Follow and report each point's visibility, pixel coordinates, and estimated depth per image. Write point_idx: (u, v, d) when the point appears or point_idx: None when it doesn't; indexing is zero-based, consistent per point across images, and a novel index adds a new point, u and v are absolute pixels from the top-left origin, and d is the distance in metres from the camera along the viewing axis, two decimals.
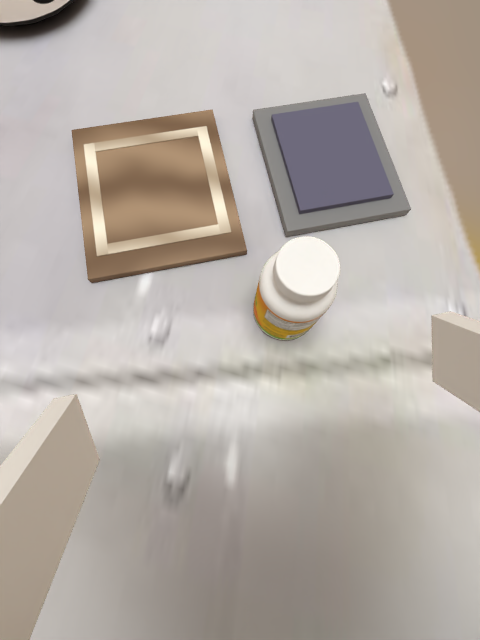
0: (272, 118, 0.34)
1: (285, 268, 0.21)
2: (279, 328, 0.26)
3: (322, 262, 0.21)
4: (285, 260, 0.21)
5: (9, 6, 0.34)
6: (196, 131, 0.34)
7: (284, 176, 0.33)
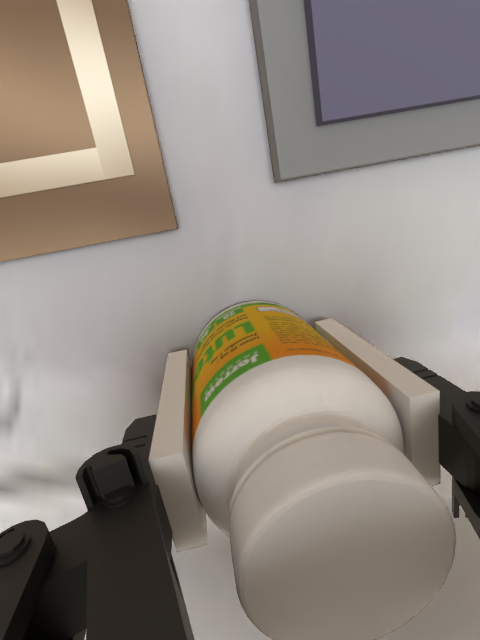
0: None
1: (271, 590, 0.06)
2: None
3: (401, 559, 0.06)
4: (274, 565, 0.06)
5: None
6: None
7: None
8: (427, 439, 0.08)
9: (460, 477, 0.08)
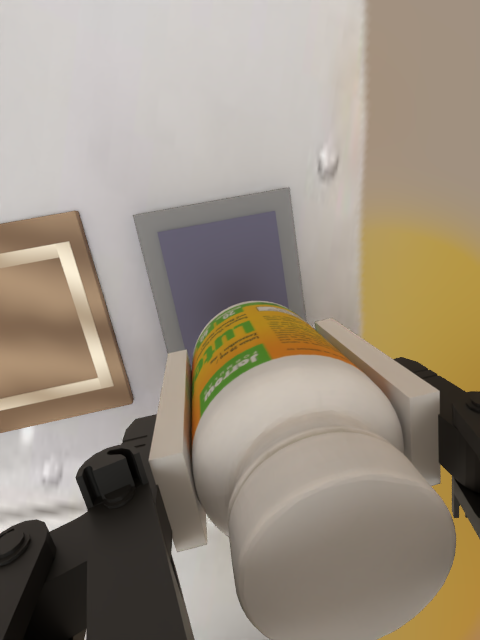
0: (158, 236, 0.26)
1: (270, 590, 0.06)
2: None
3: (401, 559, 0.06)
4: (273, 565, 0.06)
5: None
6: (56, 250, 0.25)
7: (174, 317, 0.28)
8: (427, 439, 0.08)
9: (460, 477, 0.08)
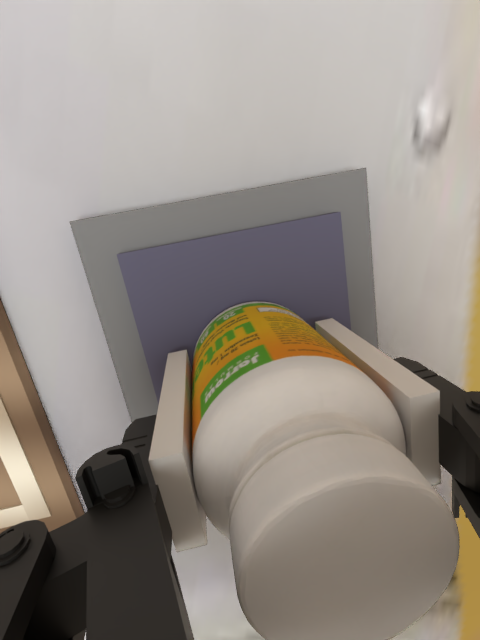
0: None
1: (272, 594, 0.06)
2: None
3: (404, 563, 0.06)
4: (275, 569, 0.06)
5: None
6: None
7: (154, 402, 0.16)
8: (427, 439, 0.08)
9: (460, 477, 0.08)
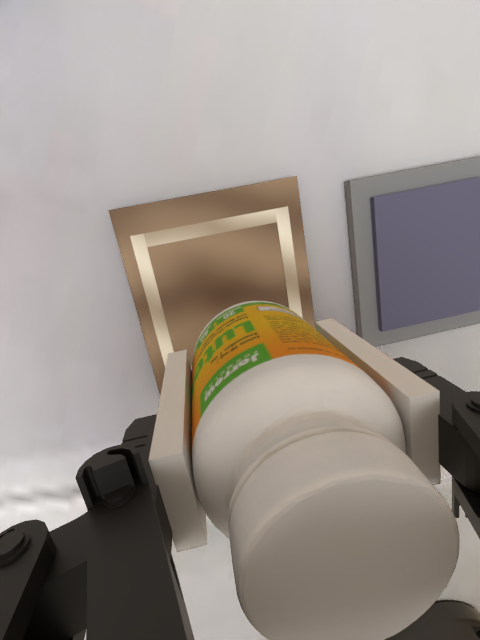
0: (373, 201, 0.26)
1: (271, 592, 0.06)
2: None
3: (403, 560, 0.06)
4: (274, 566, 0.06)
5: None
6: (275, 215, 0.26)
7: (372, 283, 0.29)
8: (427, 439, 0.08)
9: (460, 477, 0.08)
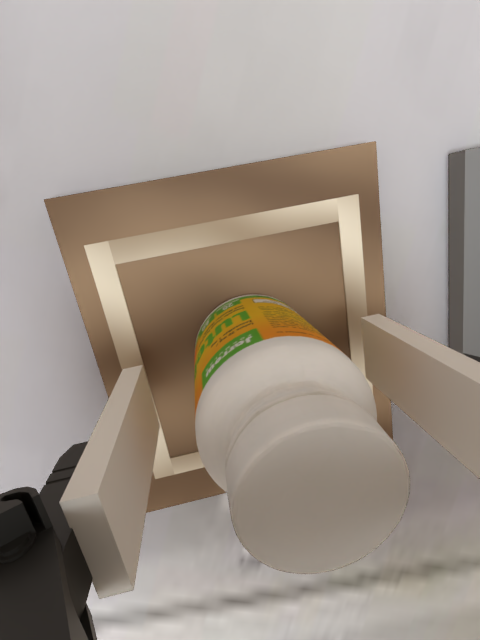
0: None
1: (259, 518, 0.07)
2: None
3: (364, 495, 0.07)
4: (261, 496, 0.07)
5: None
6: (336, 209, 0.15)
7: None
8: None
9: None
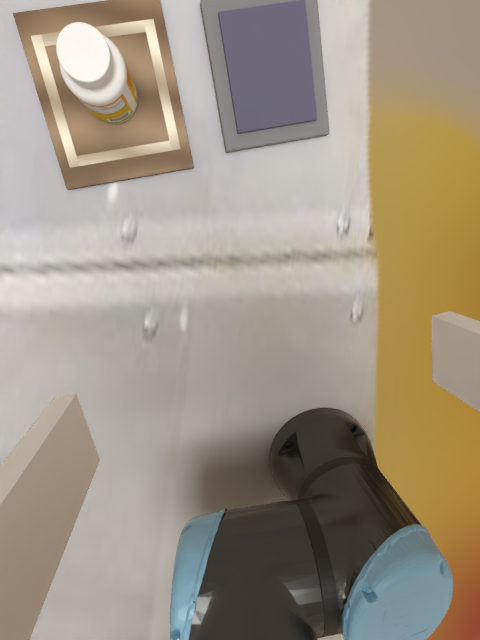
0: (219, 16, 0.35)
1: (64, 54, 0.26)
2: (93, 111, 0.33)
3: (94, 50, 0.27)
4: (63, 46, 0.26)
5: None
6: (143, 25, 0.34)
7: (227, 91, 0.37)
8: None
9: None
